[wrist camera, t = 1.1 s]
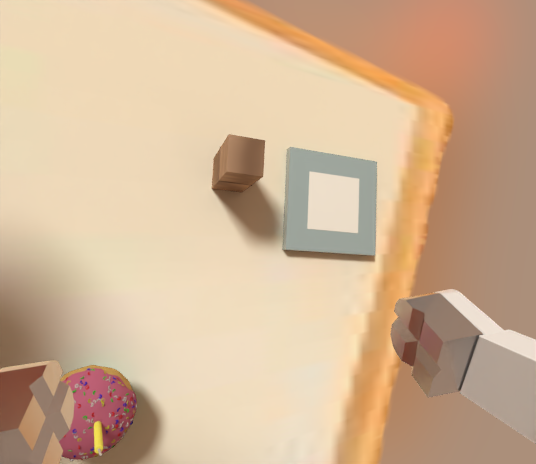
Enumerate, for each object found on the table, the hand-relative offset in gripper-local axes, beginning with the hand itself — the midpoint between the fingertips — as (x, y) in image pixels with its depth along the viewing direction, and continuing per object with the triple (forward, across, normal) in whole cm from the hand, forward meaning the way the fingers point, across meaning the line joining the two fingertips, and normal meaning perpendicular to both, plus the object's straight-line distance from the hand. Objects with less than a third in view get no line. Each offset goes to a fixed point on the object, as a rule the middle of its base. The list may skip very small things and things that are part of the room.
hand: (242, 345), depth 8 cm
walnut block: (+37, -3, +8) cm, 38 cm away
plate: (+37, -17, +14) cm, 43 cm away
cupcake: (+23, +15, +27) cm, 38 cm away
